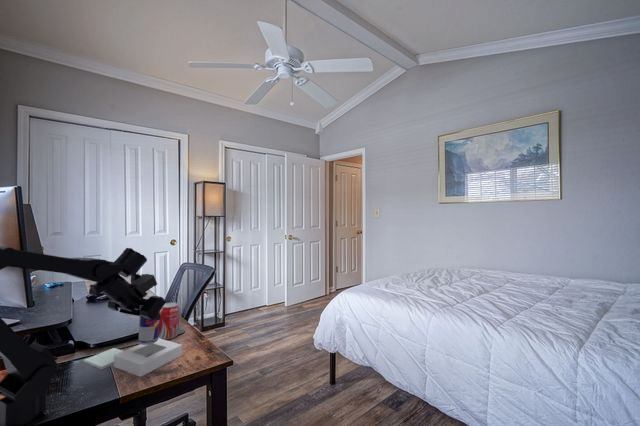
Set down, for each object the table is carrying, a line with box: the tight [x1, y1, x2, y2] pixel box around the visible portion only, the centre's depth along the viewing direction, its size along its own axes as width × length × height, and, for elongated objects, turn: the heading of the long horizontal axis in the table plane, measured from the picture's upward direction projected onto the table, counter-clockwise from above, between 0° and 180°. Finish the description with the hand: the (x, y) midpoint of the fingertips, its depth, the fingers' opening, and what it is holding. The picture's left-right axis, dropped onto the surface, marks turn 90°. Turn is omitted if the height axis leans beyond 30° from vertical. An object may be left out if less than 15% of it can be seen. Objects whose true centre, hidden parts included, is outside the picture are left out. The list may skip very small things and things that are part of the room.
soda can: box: [158, 301, 180, 341], centre depth 110 cm, size 7×7×12 cm
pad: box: [83, 347, 124, 370], centre depth 92 cm, size 9×9×1 cm
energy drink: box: [138, 307, 159, 345], centre depth 92 cm, size 5×5×12 cm
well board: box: [113, 337, 183, 377], centre depth 92 cm, size 14×12×4 cm
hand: (153, 317), depth 93 cm, fingers closed on energy drink, 5 cm apart
